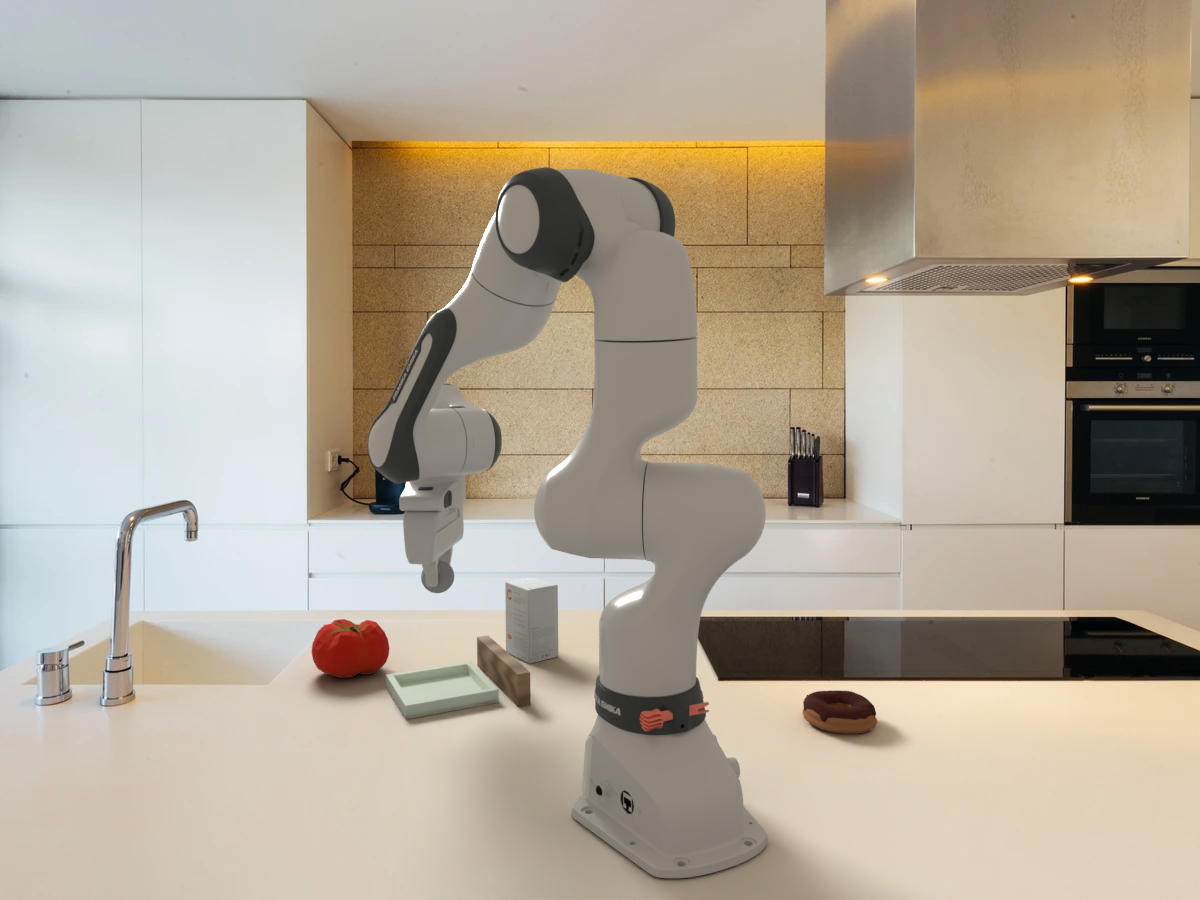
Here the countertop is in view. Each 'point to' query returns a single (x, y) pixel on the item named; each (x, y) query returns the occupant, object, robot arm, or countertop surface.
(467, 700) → the dish
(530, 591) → the small box
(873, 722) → the donut
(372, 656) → the tomato
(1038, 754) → the countertop surface
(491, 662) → the rail
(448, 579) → the ball
